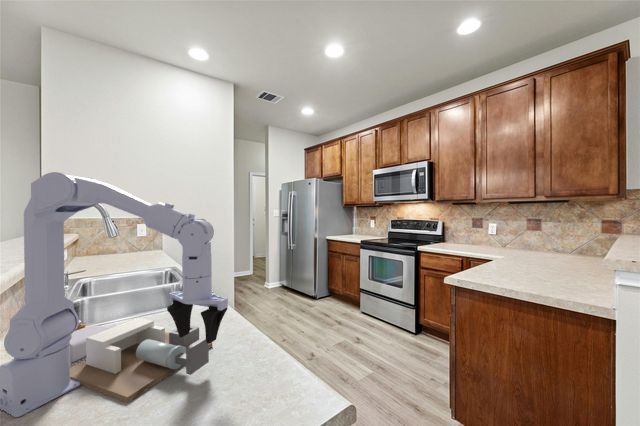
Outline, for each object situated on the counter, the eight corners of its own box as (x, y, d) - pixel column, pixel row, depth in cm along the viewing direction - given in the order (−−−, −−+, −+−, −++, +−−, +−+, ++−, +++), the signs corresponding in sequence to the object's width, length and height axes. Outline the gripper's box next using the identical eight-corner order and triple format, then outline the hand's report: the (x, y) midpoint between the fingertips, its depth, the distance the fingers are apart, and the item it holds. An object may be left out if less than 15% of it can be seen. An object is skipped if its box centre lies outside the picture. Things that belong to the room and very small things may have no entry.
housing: (135, 380, 55) (135, 350, 55) (86, 364, 61) (86, 337, 61) (199, 342, 71) (199, 319, 71) (155, 332, 77) (155, 311, 77)
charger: (135, 336, 77) (72, 364, 63) (113, 331, 80) (49, 357, 66) (134, 320, 77) (72, 344, 63) (113, 316, 80) (49, 338, 66)
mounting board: (127, 402, 50) (127, 397, 50) (59, 377, 58) (59, 372, 58) (212, 346, 71) (212, 342, 71) (153, 333, 78) (153, 329, 78)
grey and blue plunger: (190, 380, 54) (190, 348, 54) (134, 364, 60) (134, 335, 60) (208, 367, 59) (208, 337, 59) (155, 353, 65) (154, 326, 65)
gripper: (237, 274, 58) (237, 335, 58) (186, 269, 63) (187, 325, 63) (213, 282, 51) (214, 351, 51) (159, 275, 56) (160, 338, 56)
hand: (197, 338), depth 57 cm, fingers open, 7 cm apart
